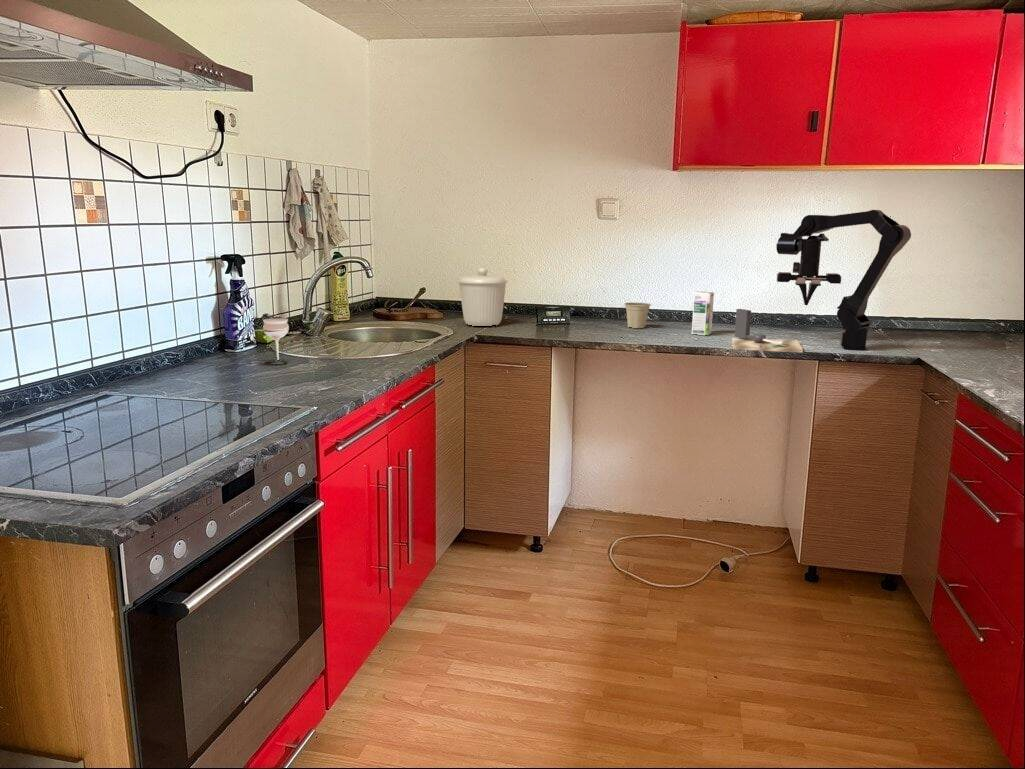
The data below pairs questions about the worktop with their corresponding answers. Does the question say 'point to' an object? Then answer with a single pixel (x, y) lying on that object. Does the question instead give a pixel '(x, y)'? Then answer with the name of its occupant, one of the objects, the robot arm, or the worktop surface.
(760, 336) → the peg
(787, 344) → the board
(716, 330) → the worktop surface
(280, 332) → the wineglass
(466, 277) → the canister
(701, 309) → the syrup box
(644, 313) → the flower pot
